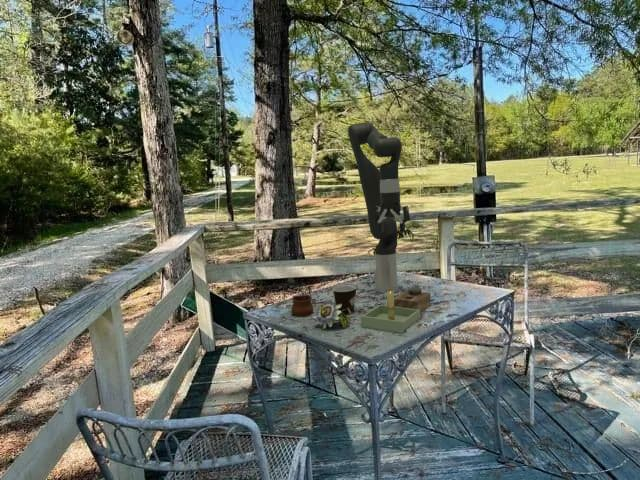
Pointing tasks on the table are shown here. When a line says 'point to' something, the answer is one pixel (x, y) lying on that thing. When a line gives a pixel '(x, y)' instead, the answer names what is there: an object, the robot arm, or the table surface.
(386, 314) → the pin tray
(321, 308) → the passion flower
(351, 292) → the coffee mug
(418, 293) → the block
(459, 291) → the table surface
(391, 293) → the pin
